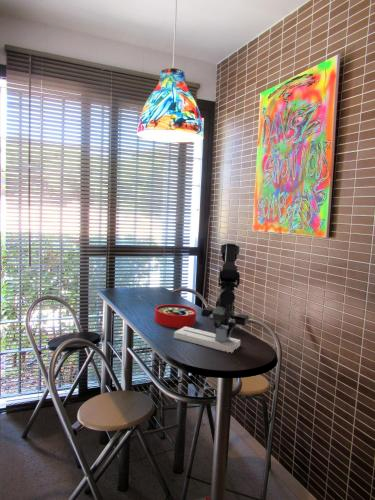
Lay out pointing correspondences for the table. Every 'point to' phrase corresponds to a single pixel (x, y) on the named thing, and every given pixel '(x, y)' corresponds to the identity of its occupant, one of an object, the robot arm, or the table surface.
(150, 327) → the table surface
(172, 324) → the red round tin
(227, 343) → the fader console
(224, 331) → the fader tab
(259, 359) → the table surface
